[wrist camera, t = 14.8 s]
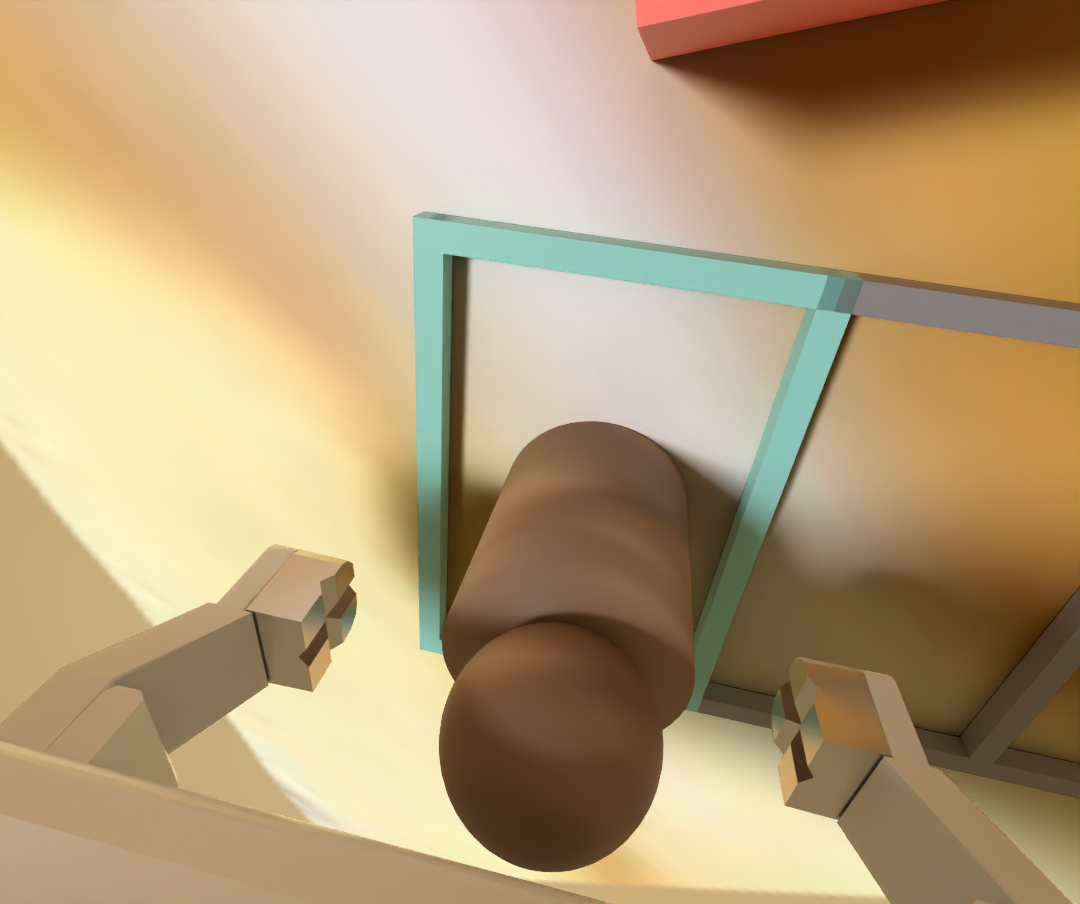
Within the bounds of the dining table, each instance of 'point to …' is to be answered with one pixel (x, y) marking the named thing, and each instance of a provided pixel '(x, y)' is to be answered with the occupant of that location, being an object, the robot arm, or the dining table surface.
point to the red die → (743, 20)
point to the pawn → (569, 649)
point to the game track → (829, 307)
